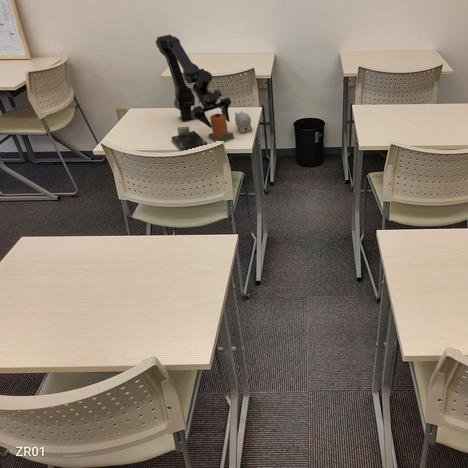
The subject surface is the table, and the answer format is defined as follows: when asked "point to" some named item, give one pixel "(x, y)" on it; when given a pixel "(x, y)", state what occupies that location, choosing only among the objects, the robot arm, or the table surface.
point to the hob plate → (192, 143)
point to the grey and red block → (183, 131)
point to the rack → (221, 137)
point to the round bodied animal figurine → (243, 122)
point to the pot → (219, 125)
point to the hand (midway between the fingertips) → (220, 124)
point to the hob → (179, 139)
